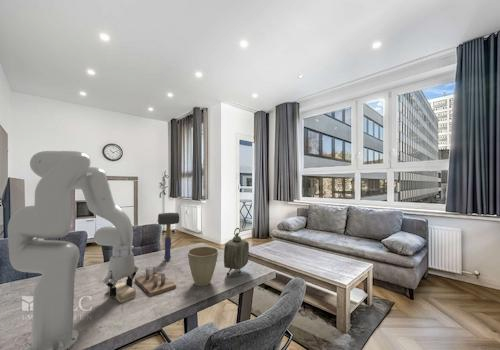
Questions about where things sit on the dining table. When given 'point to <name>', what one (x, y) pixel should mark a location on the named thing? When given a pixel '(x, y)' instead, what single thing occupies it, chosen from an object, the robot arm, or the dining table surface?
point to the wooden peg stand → (154, 282)
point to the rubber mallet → (168, 229)
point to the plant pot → (202, 264)
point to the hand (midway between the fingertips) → (121, 291)
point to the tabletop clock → (236, 253)
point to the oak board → (123, 292)
